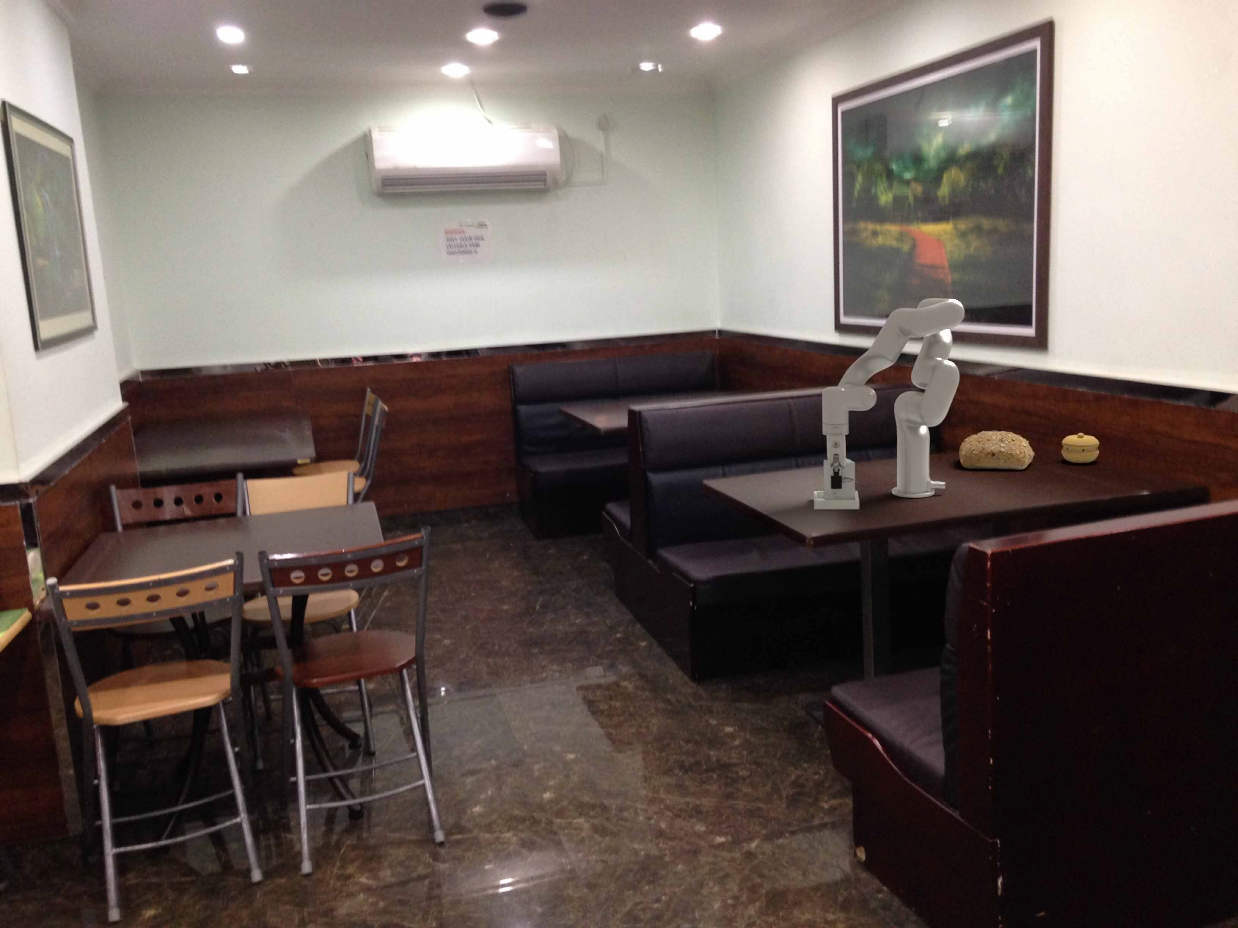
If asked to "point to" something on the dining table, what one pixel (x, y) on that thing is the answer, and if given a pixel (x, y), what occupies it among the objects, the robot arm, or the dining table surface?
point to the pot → (1080, 448)
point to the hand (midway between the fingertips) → (836, 485)
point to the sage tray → (834, 502)
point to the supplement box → (847, 482)
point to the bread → (995, 451)
